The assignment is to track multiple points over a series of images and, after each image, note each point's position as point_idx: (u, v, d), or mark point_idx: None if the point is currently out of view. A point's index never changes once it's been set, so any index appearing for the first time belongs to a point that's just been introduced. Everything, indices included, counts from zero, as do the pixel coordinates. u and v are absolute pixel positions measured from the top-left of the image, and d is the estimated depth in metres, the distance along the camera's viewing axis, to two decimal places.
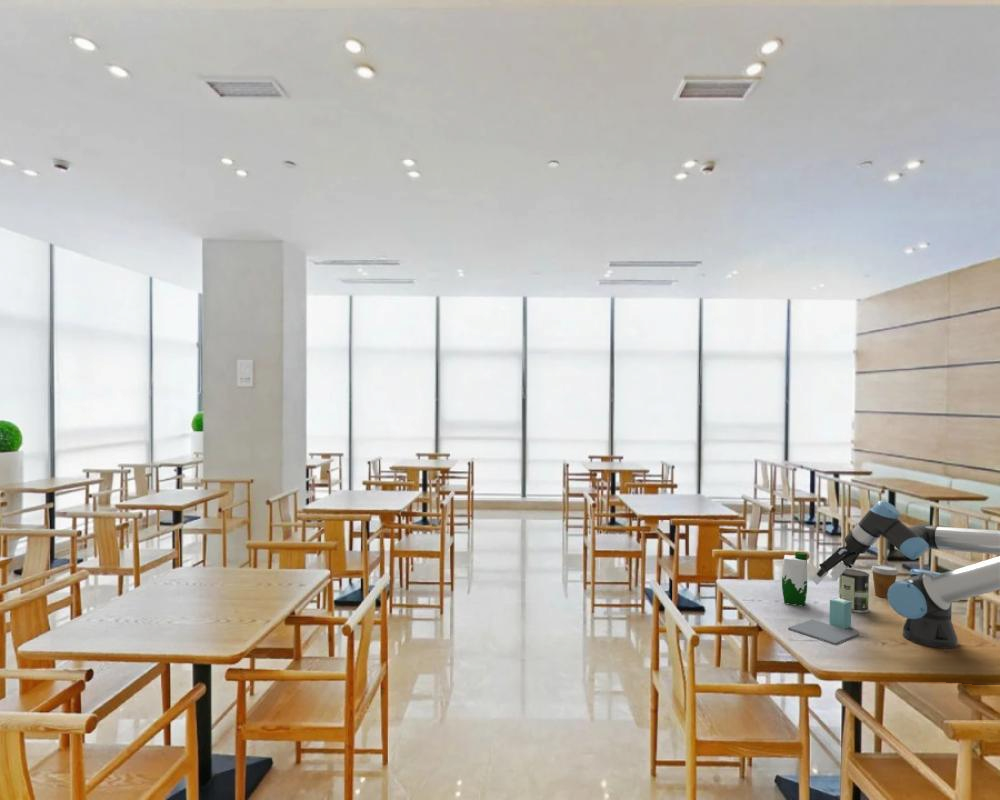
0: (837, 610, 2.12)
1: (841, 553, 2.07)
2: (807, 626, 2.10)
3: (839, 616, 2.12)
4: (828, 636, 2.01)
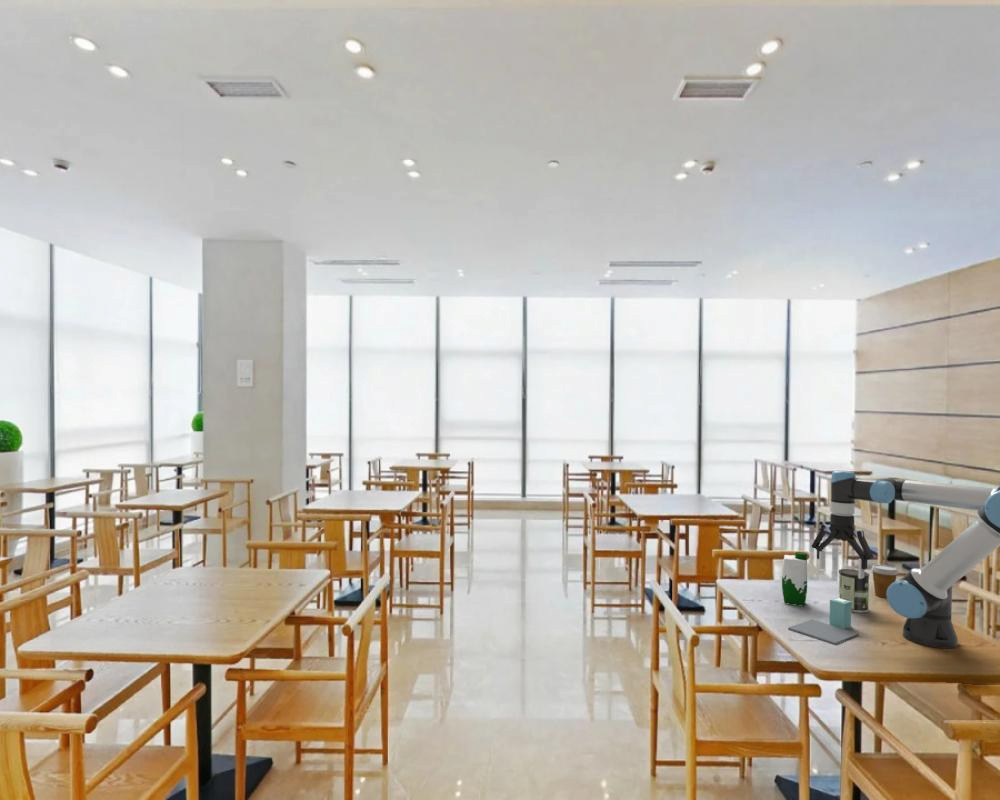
0: (837, 610, 2.12)
1: None
2: (807, 626, 2.10)
3: (839, 616, 2.12)
4: (828, 636, 2.01)
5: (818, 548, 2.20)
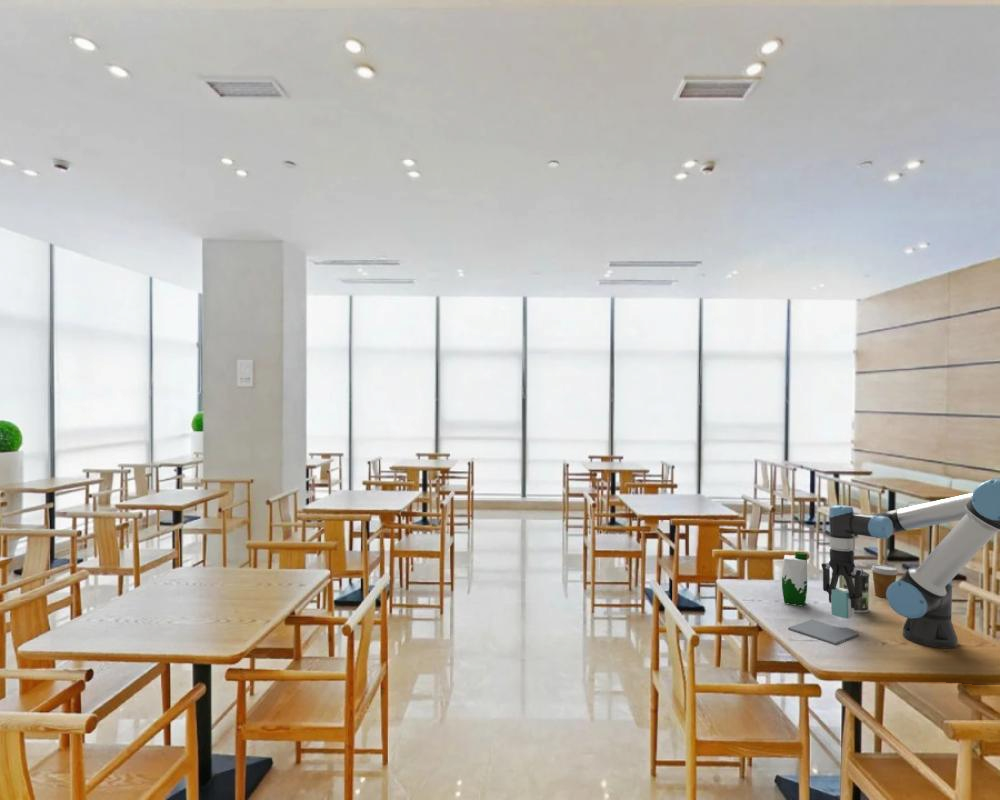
0: (839, 599, 2.12)
1: None
2: (807, 626, 2.10)
3: (841, 605, 2.11)
4: (828, 636, 2.01)
5: (829, 591, 2.16)
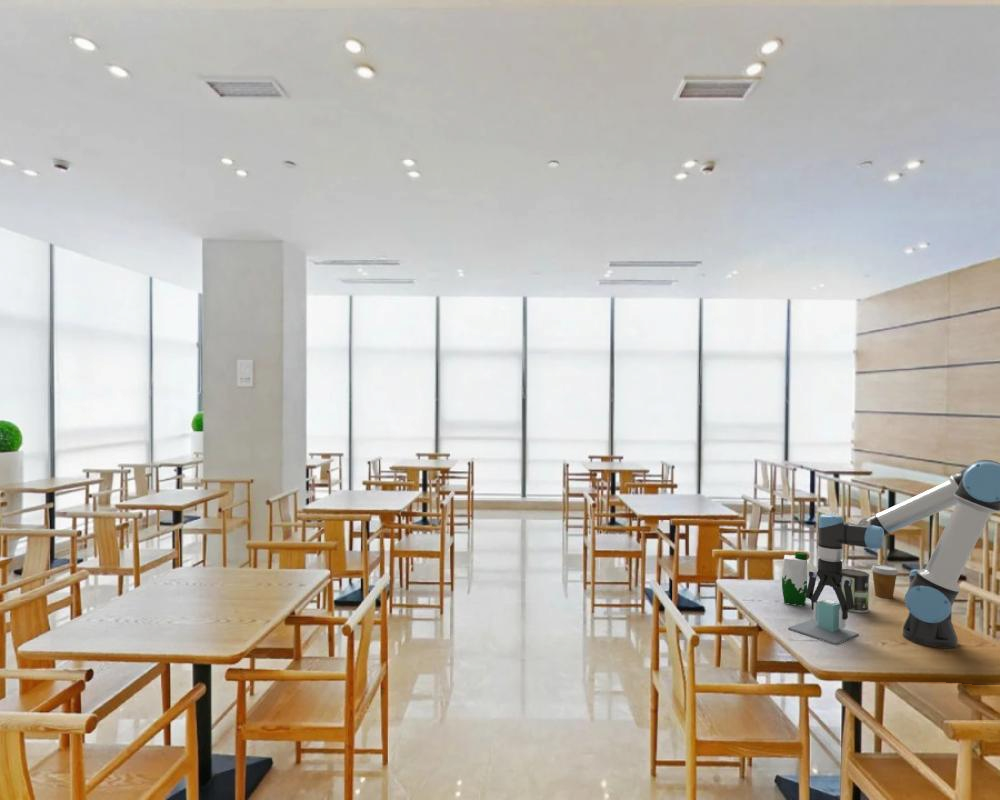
0: (826, 612, 2.08)
1: None
2: (807, 626, 2.10)
3: (828, 618, 2.07)
4: (828, 636, 2.01)
5: (812, 599, 2.13)
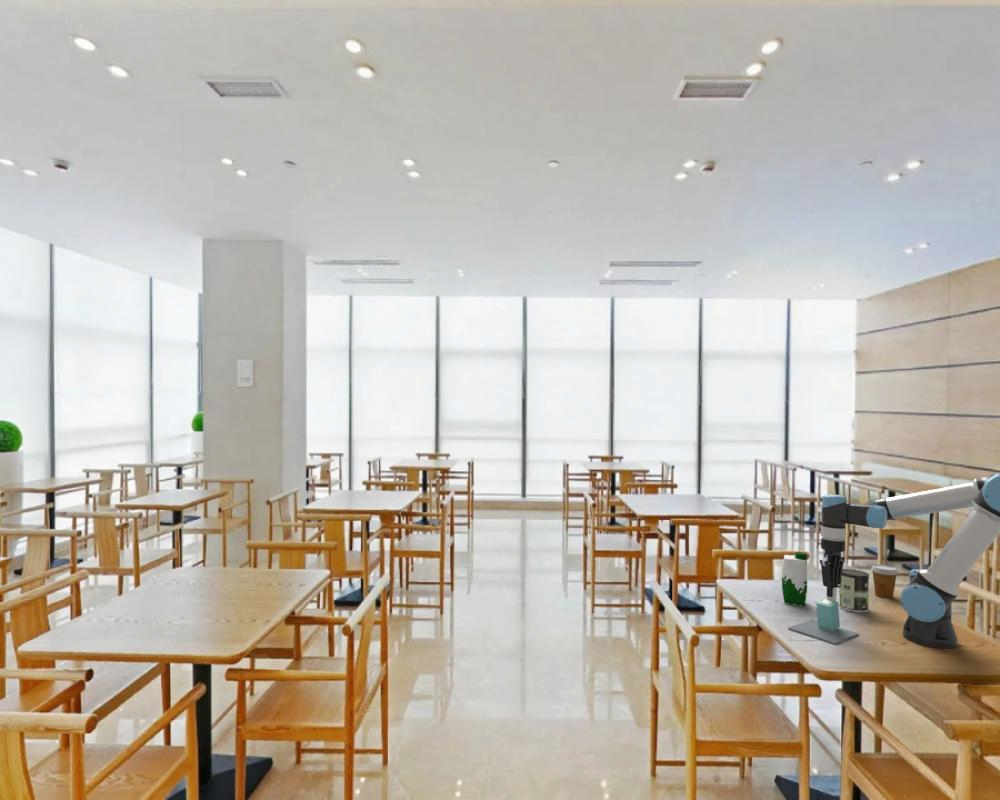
0: (824, 613, 2.07)
1: (825, 565, 2.07)
2: (807, 626, 2.10)
3: (827, 619, 2.07)
4: (828, 636, 2.01)
5: (833, 585, 2.09)
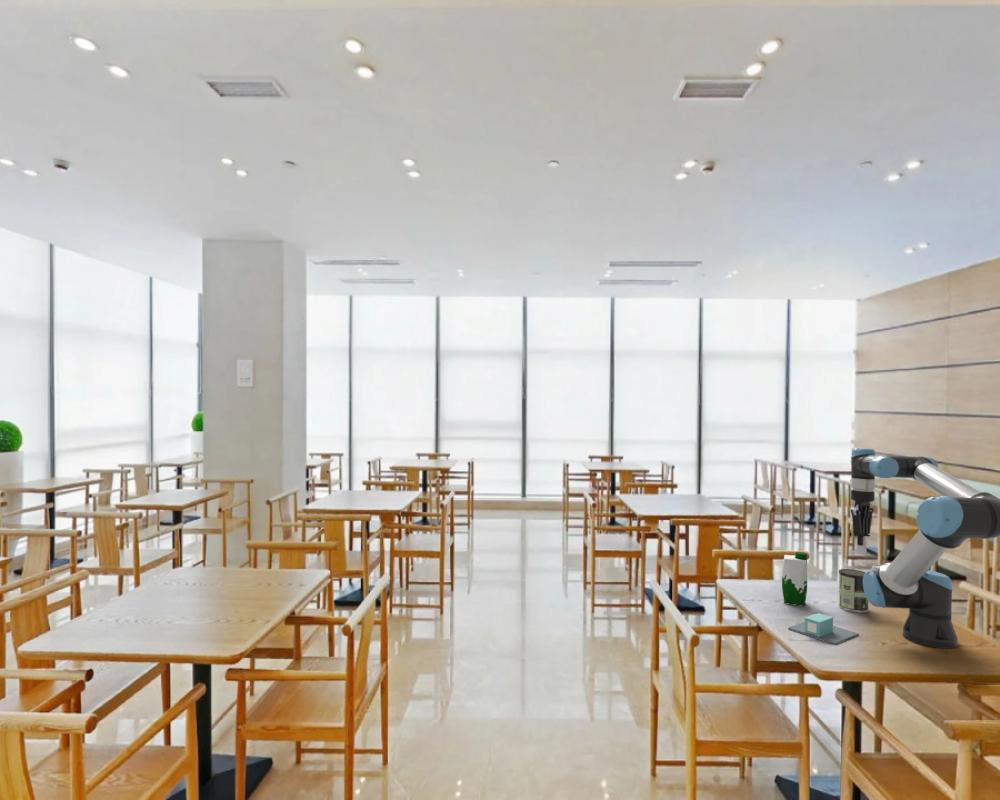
0: None
1: (856, 514, 2.17)
2: None
3: None
4: (828, 636, 2.01)
5: (863, 534, 2.19)
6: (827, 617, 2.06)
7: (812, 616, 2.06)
